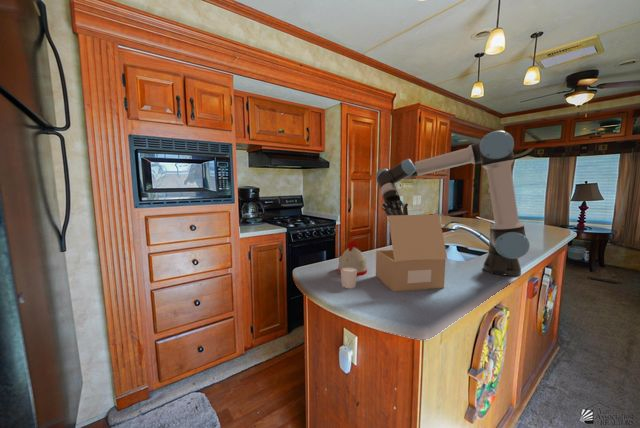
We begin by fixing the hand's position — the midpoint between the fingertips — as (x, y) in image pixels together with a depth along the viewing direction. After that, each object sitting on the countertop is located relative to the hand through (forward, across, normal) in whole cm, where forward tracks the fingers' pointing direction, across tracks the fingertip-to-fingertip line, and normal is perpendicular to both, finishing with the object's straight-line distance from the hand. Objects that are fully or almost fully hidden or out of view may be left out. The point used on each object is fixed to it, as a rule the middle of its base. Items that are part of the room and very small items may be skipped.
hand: (405, 234), depth 115 cm
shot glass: (+17, +26, -12) cm, 34 cm away
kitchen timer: (+5, +19, -24) cm, 32 cm away
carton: (+17, 0, -12) cm, 21 cm away
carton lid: (+6, 0, +7) cm, 9 cm away
